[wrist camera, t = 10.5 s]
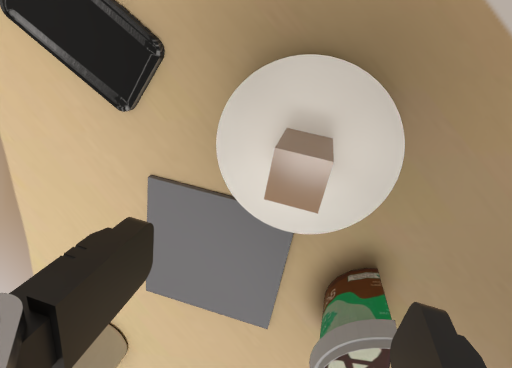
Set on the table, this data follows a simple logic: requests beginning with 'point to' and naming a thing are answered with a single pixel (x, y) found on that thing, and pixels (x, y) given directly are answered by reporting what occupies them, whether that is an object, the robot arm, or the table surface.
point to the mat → (214, 252)
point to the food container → (355, 324)
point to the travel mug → (104, 350)
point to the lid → (310, 144)
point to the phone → (93, 43)
